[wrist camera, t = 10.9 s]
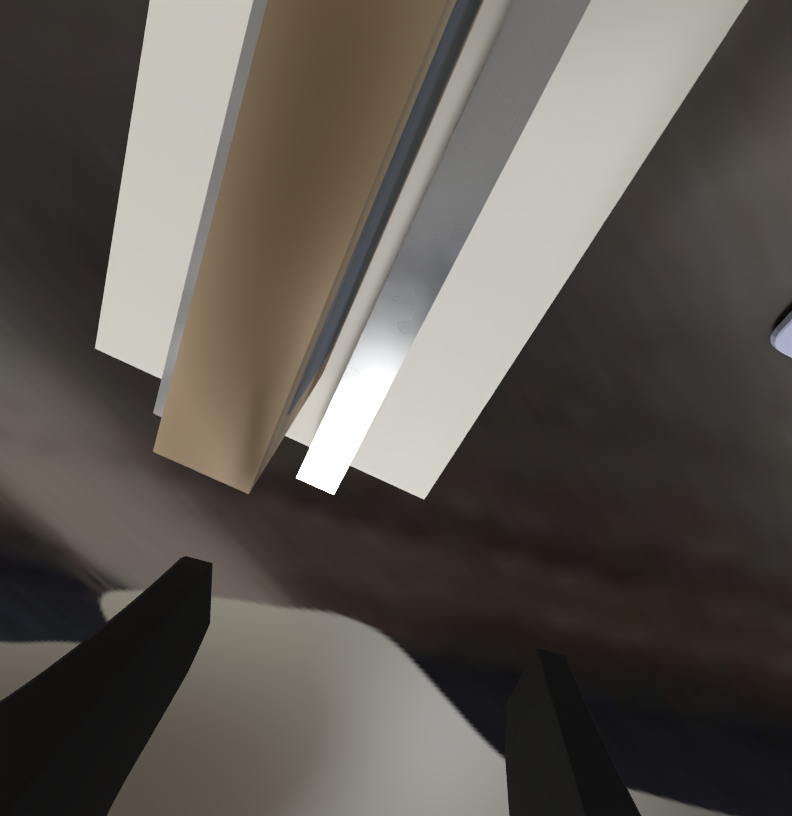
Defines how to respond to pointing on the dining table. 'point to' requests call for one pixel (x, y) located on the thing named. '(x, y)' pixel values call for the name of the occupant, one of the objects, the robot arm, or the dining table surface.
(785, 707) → the dining table surface
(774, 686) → the dining table surface
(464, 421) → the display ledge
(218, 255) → the tan wooden frame
